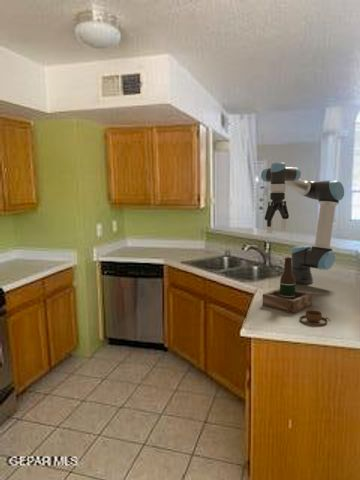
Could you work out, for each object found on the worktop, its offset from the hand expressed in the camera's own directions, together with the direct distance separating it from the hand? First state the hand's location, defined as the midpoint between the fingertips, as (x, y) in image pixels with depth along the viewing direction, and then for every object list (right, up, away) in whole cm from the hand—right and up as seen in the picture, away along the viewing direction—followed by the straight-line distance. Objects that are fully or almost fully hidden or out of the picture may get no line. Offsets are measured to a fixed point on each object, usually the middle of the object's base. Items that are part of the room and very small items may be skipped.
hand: (276, 231), depth 204 cm
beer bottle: (+3, -37, -9) cm, 39 cm away
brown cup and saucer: (+8, -42, -29) cm, 51 cm away
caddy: (+3, -38, -9) cm, 39 cm away
